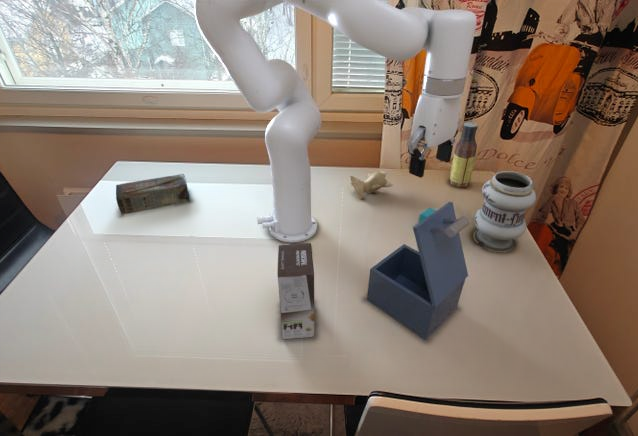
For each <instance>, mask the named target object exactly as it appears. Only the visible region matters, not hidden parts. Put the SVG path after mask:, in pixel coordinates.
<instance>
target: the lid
mask: <svg viewBox="0 0 638 436" xmlns="http://www.w3.org/2000/svg"><path fill="white" fill-rule="evenodd" d="M469 225H470V219H469V217H468V216H465V215H462V216H461V215H460V217H459V218H457V216H456V211H455V206H454V202H453V201H448V202H447V203H445V204H444V205H442V206H441V207H440V208H438V209H437V210H436V212H434V213H433V214H431V215H430V216H429V217H427V218H426V219H424V220H423V221H422V222H420V223H419V222H418V223H417V224H415V226H413V227H412V230H413V234H414V238H415V242H416V247H417V251H418V252H419V255H420V259H421V263H422V267H423V271H424V275H425V279H426V283H427V287H428V291H429V295H430V299H431V303H432V306H433V307H437V306H438V305H439V304H440V303H441V302H442V301H443V300H444V299H445V298H446V297H447V296H448V295H449V294H450V293H451V292H452V291H453V290H454V289H455V288H456V287H457V286H458V285H459V284H460V283H461V282H462V281H463V280H464V279H465V278H466V279H467V278H468V277H469V271H468V267H467V262H466V258H465V254H464V248H463V245H462V240H461V239H462V238H461V235H460V233H461V231H463V230H464V229H465V228H467V226H469ZM466 279H465V280H466Z"/></svg>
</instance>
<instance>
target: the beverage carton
mask: <svg viewBox="0 0 638 436" xmlns="http://www.w3.org/2000/svg"><path fill="white" fill-rule="evenodd" d="M190 197H191V196H190V192H189V188H188V182H187V177H186V175H185V174H184V173H181V174H175V175H167V176H161V177H155V178H154V177H153V178H148V179H143V180H137V181H130V182H124V183H120V184H116V186H115V200H116V203H117V206H118V210H119V212H120V214H121V215H122V216H123V215H124V216H125V215H128V214H134V213H138V212H143V211H149V210H155V209H159V208H164V207H169V206H175V205H180V204H184V203H190V202H191V198H190Z"/></svg>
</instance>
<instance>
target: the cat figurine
mask: <svg viewBox="0 0 638 436" xmlns="http://www.w3.org/2000/svg"><path fill="white" fill-rule="evenodd" d="M387 173H388V172H387V171H386V170H382V171H373V172H370V173H368V174H367V175H366V178H365V179H364V180H361V179H359V178H357V177H355V176H353V175H349V182H350V185H351V187H352V189H353V191H354V192H355V194H356V195H357V197H358V198H359V199H360V200H364V199H365V193H368V194H369V193H372V192H377V191H378V190H381V189H382V188H391V187H392V186H393V182H392V181H390V180H387V179H386V176H387Z"/></svg>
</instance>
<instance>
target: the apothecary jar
mask: <svg viewBox="0 0 638 436" xmlns="http://www.w3.org/2000/svg"><path fill="white" fill-rule="evenodd" d="M533 183H534V182H533V180H532V178H531V177H529V176H527V175H526V174H523V173H521V172H517V171H512V170H501V171H497V172H496V173H494V175H493V177H492V178H491V179H488V181H487V180H486V182H485V183H484V184H483V186H482V188H481V194H482V197H483V198H484V199H483V204H482V205H481V207H480V208H479V209H477V211H476V212H475V213H474V215H473V223H474V225H475V227H476V230H475V231H474V232H473V235H472V236H473V240H474V241H475V243H476V244H477V245H480V246H482V247H483V249H485V250H486V251H487V250H488V251H491V252H495V253H507V252H510V251H511V250H513V249H514V247H515V239H518V238H520V237H522V236H523V235H524V234H525V232H526V231H527V223H526V220H525V215H526V212H527V210H528V209H530V208H532V207H533V206H534V204H535V203H536V201H537V193H536V191H535V189H533Z"/></svg>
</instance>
